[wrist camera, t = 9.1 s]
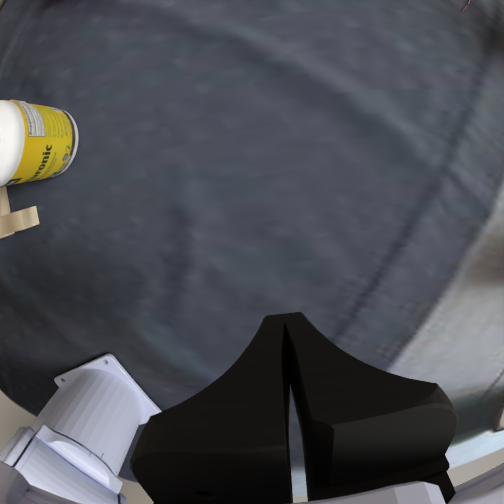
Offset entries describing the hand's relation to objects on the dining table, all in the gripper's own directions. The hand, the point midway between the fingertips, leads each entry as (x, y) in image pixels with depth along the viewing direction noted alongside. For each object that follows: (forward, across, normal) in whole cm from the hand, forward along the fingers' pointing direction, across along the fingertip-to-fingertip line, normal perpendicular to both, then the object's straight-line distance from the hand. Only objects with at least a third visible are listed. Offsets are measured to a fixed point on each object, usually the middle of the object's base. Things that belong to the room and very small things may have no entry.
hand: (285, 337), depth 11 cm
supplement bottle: (+11, +15, -11) cm, 21 cm away
